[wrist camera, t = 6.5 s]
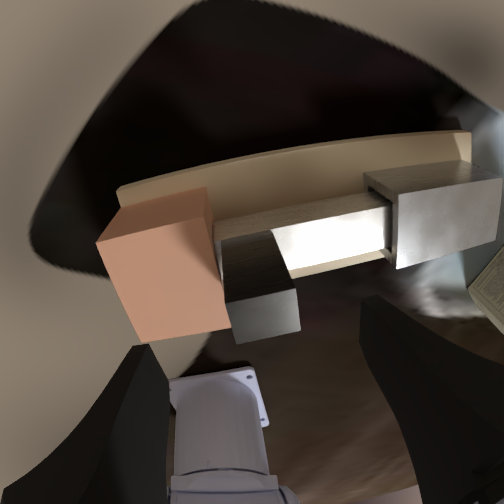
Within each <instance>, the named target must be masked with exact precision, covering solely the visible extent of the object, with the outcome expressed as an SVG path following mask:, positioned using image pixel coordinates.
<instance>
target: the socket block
mask: <svg viewBox="0 0 504 504" xmlns="http://www.w3.org/2000/svg"><path fill="white" fill-rule="evenodd" d="M213 222H214V218H213V214H212V210H211V206H210V202H209V197H208V193H207V189H206V186H205V187H201V188H196V189H192V190H188V191H183V192H179V193H175V194H171V195H167V196H163V197H159V198H155V199H151V200H147V201H144V202H140V203H136V204H132V205H129V206H125V207H121V208H120V210H119V211H118V212H117V214H116V215H115V216H114V218H113V219H112V221H111V222H110V223H109V225H108V226H107V227H106V229H105V230H104V232H103V233H102V235H101V236H100V237H99V239H98V240H97V242H96V245H97V247H98V250H99V252H100V255H101V257H102V260H103V262H104V264H105V267H106V269H107V272H108V274H109V276H110V278H111V281H112V283H113V285H114V287H115V289H116V292H117V294H118V296H119V298H120V301H121V303H122V305H123V307H124V309H125V311H126V313H127V315H128V317H129V319H130V321H131V323H132V325H133V327H134V329H135V331H136V333H137V335H138V337H139V339H140V341H141V343H145V342H151V341H157V340H164V339H170V338H175V337H182V336H188V335H193V334H198V333H204V332H210V331H215V330H220V329H226V328H231V324H230V320H229V317H228V314H227V310H226V307H225V301H224V287H223V279H222V275H221V272H220V268H219V264H218V260H217V257H216V253H215V249H214V245H213V241H212V223H213Z"/></svg>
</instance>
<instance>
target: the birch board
mask: <svg viewBox="0 0 504 504" xmlns="http://www.w3.org/2000/svg"><path fill="white" fill-rule="evenodd" d="M453 160H464V161H467V162H469V163H471V132H468V131H465V130H446V131H428V132H414V133H402V134H390V135H380V136H371V137H362V138H353V139H345V140H338V141H330V142H323V143H316V144H310V145H303V146H297V147H291V148H285V149H279V150H274V151H268V152H263V153H257V154H252V155H247V156H242V157H237V158H232V159H228V160H223V161H218V162H214V163H209V164H205V165H200V166H196V167H192V168H188V169H184V170H179V171H175V172H171V173H167V174H164V175H160V176H156V177H152V178H148V179H145V180H141V181H137V182H134V183H130V184H127V185H123V186H120V187H119V188H118V189H117V191H116V193H117V197H118V200H119V203H120V206H121V207H125V206H129V205H132V204H136V203H140V202H144V201H147V200H151V199H155V198H159V197H163V196H167V195H171V194H175V193H179V192H183V191H188V190H192V189H196V188H201V187H205V186H206V189H207V193H208V197H209V202H210V206H211V210H212V214H213V218H214V222H217V221H222V220H227V219H231V218H236V217H241V216H245V215H250V214H255V213H260V212H265V211H269V210H274V209H279V208H284V207H289V206H294V205H300V204H305V203H310V202H315V201H320V200H326V199H331V198H336V197H342V196H347V195H353V194H358V193H364V182H363V172H369V171H376V170H383V169H390V168H397V167H404V166H412V165H419V164H427V163H435V162H444V161H453ZM382 257H385V256H384V255H383V254H382V253H381V252H380V251H379V250H374V251H370V252H366V253H362V254H357V255H353V256H349V257H344V258H340V259H336V260H331V261H327V262H323V263H318V264H314V265H309V266H305V267H300V268H296V269H291V270H288V271H289V273H290V276H291V278H292V279H293V278H297V277H302V276H306V275H311V274H315V273H319V272H324V271H328V270H332V269H337V268H341V267H345V266H349V265H353V264H358V263H362V262H366V261H370V260H374V259H378V258H382Z"/></svg>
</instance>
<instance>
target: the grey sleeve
mask: <svg viewBox="0 0 504 504" xmlns="http://www.w3.org/2000/svg"><path fill="white" fill-rule="evenodd" d="M363 182H364V192H370V191H375V190H376V191H377V192H379V193H380V194H382V195H383V196H385V197H386V198H388V199H389V200H390V201H392V202H393V233H392V246H391V247H387V248H383V249H379V251H380V252H381V253H382V254H383V255H384V256H385V257H386V258H387V260H388V261H389V262H390V263H391V264H392V265H393V266H394V267H395V268H396V269H399V268H403V267H406V266H410V265H414V264H417V263H421V262H424V261H428V260H431V259H435V258H438V257H442V256H445V255H449V254H452V253H455V252H459V251H462V250H465V249H469V248H472V247H475V246H479V245H482V244H485V243H488V242H491V241H495V239H496V233H497V227H498V220H499V213H500V205H501V196H502V186H503V177H501V176H499V175H497V174H495V173H492V172H490V171H488V170H486V169H483V168H481V167H479V166H476V165H474V164H471V163H469V162H467V161H464V160H453V161H444V162H435V163H427V164H419V165H412V166H404V167H397V168H390V169H383V170H376V171H369V172H363Z"/></svg>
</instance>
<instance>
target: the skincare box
mask: <svg viewBox="0 0 504 504" xmlns="http://www.w3.org/2000/svg"><path fill="white" fill-rule="evenodd" d="M468 292H469V293H470V295H471V297H472V299H473V300H474V302H475V304H476V305H477V307H478V308H479V309H480V310H481V311H482V312H483V313H484V314H485V315H486V316H487V317H488V318H489V319H490V321H491V322H492V323H493V324H494V325H495V326H496V327H497V328H498V329H499V330H500V331H501V332H502V333H503V334H504V246H503V247H502V248H501V249H500V251H499V252H498V253H497V254H496V255H495V257H494V258H493V259H492V260H491V262H490V263H489V264H488V265H487V266H486V268H485V269H484V270H483V271H482V272H481V273H480V274H479V276H478V277H477V278H476V279H475V280H474V282H473V283H472V284H471V285H470V286H469V287H468Z"/></svg>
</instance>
